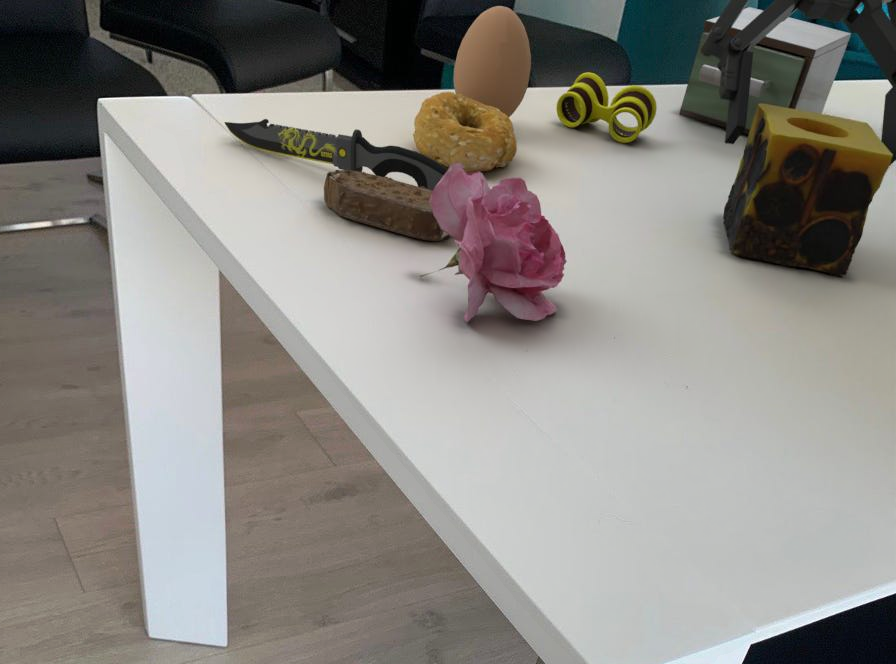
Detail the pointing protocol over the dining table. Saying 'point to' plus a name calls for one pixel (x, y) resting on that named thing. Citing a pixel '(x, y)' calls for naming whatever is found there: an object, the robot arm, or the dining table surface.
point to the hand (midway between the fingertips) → (813, 148)
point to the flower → (499, 242)
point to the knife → (339, 151)
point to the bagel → (464, 133)
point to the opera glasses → (606, 106)
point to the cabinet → (800, 39)
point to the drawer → (768, 82)
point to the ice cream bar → (383, 203)
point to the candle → (804, 189)
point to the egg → (494, 60)
